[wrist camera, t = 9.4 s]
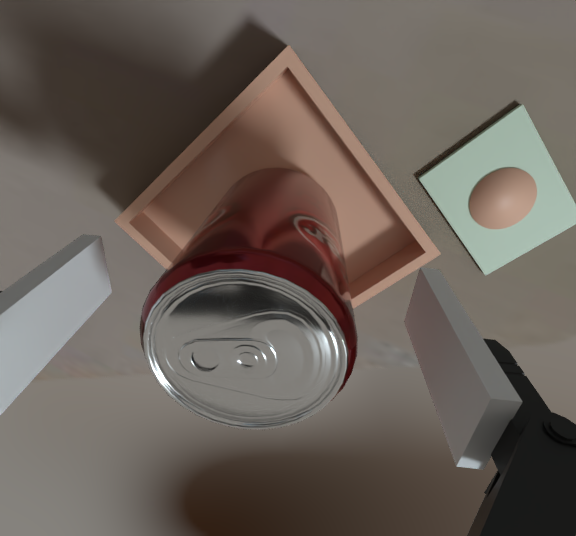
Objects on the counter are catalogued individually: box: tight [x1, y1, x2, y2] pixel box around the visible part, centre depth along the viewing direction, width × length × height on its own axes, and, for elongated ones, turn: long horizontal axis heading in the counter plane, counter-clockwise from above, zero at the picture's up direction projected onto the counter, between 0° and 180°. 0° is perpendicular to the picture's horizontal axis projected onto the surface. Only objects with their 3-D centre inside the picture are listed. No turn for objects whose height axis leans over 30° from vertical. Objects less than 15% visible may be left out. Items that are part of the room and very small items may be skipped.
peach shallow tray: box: [115, 45, 441, 308], centre depth 21 cm, size 13×13×2 cm
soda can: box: [140, 167, 357, 430], centre depth 17 cm, size 7×7×12 cm
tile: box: [418, 104, 576, 275], centre depth 21 cm, size 8×6×1 cm
